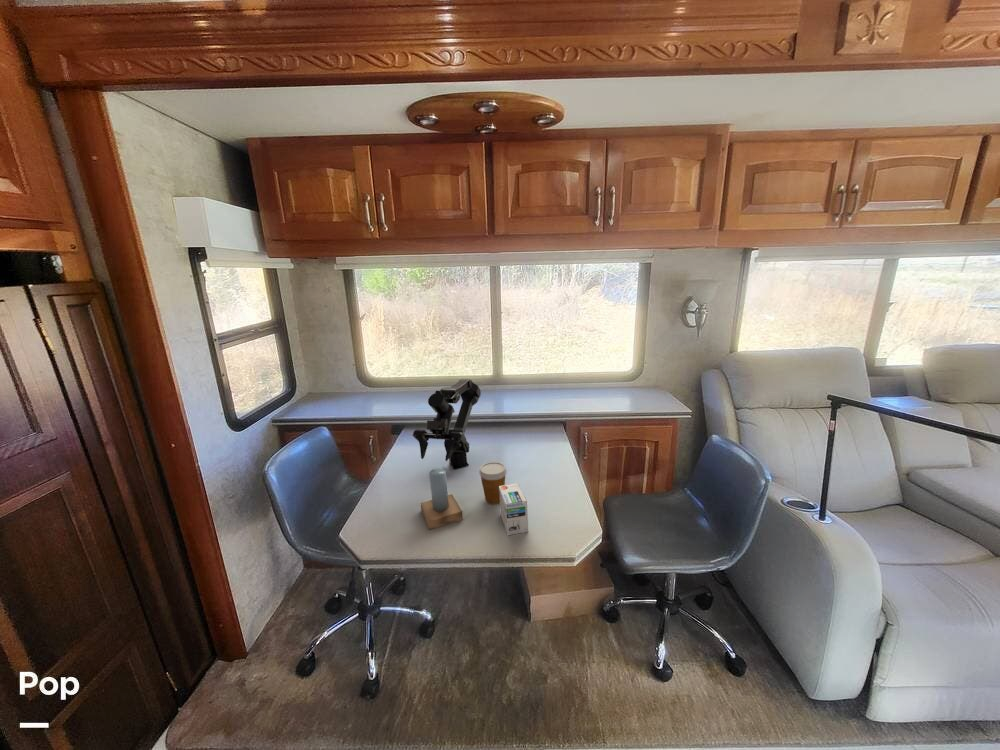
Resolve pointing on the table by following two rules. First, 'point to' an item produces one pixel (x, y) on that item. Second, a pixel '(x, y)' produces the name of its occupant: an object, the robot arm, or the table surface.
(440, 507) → the slate canister
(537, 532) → the table surface
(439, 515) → the walnut base
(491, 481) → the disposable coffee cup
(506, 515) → the light bulb box
